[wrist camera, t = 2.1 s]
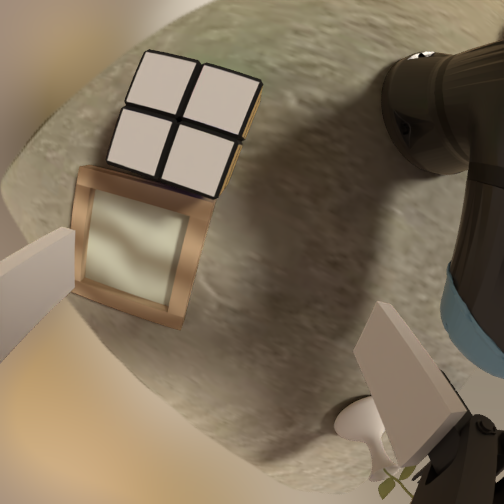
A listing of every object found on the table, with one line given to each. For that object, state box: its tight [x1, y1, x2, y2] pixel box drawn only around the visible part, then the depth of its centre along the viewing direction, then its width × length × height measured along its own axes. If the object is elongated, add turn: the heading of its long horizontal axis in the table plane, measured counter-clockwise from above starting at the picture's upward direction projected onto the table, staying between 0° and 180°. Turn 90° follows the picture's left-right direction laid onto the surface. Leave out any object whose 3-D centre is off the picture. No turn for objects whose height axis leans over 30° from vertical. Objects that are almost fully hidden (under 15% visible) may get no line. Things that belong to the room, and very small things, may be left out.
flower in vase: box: [334, 396, 416, 504], centre depth 32 cm, size 13×11×25 cm
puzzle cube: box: [106, 49, 263, 200], centre depth 25 cm, size 10×10×10 cm
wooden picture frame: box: [71, 165, 217, 331], centre depth 33 cm, size 16×16×2 cm
